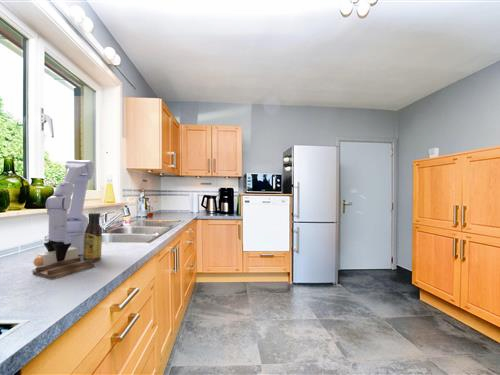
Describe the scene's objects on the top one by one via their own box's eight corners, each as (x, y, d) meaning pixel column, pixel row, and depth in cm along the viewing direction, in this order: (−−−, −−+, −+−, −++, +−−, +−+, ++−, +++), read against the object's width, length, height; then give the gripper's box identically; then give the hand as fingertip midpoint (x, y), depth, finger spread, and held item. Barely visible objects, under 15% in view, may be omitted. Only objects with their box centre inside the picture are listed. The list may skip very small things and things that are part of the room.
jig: (75, 262, 96) (75, 256, 96) (94, 266, 91) (95, 260, 91) (32, 273, 83) (32, 266, 83) (52, 279, 78) (52, 271, 78)
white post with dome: (72, 258, 101) (72, 247, 101) (77, 260, 99) (78, 248, 99) (30, 268, 88) (31, 255, 88) (36, 270, 86) (37, 256, 86)
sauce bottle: (79, 261, 97) (80, 213, 97) (94, 257, 103) (95, 212, 103) (90, 263, 94) (91, 214, 95) (105, 259, 100) (105, 212, 100)
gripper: (35, 226, 93) (34, 260, 93) (57, 228, 88) (56, 265, 87) (56, 223, 100) (55, 256, 100) (77, 226, 94) (76, 260, 94)
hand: (57, 260), depth 94 cm, fingers closed on white post with dome, 4 cm apart
